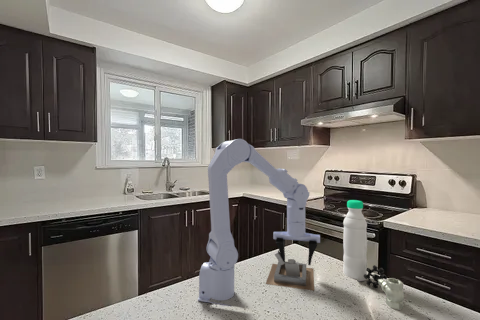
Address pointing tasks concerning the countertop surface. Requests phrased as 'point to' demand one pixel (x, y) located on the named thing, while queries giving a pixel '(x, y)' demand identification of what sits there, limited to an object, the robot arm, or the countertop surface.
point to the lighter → (289, 265)
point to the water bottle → (355, 241)
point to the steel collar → (290, 279)
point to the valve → (387, 287)
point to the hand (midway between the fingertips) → (296, 262)
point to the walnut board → (283, 272)
